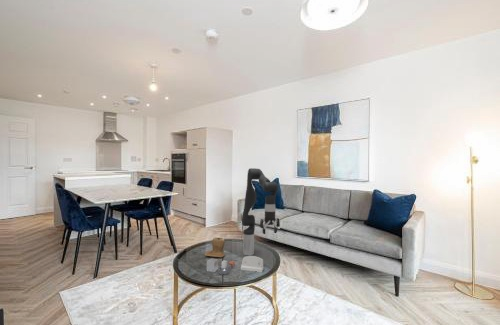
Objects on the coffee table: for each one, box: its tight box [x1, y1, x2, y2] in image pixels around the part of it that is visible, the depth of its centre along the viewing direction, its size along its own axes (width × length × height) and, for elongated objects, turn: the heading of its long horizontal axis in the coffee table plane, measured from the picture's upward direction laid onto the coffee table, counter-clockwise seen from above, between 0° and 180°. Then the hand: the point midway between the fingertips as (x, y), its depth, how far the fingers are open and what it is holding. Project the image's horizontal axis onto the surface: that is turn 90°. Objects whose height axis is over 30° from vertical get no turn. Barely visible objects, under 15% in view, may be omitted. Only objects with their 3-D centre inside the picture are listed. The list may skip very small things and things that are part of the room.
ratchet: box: [218, 259, 236, 276], centre depth 172 cm, size 19×7×8 cm, turn 162°
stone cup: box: [204, 237, 226, 258], centre depth 200 cm, size 15×12×15 cm
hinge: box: [240, 255, 265, 273], centre depth 174 cm, size 17×5×10 cm, turn 75°
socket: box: [206, 258, 219, 273], centre depth 170 cm, size 6×6×7 cm
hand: (269, 233), depth 168 cm, fingers open, 8 cm apart
